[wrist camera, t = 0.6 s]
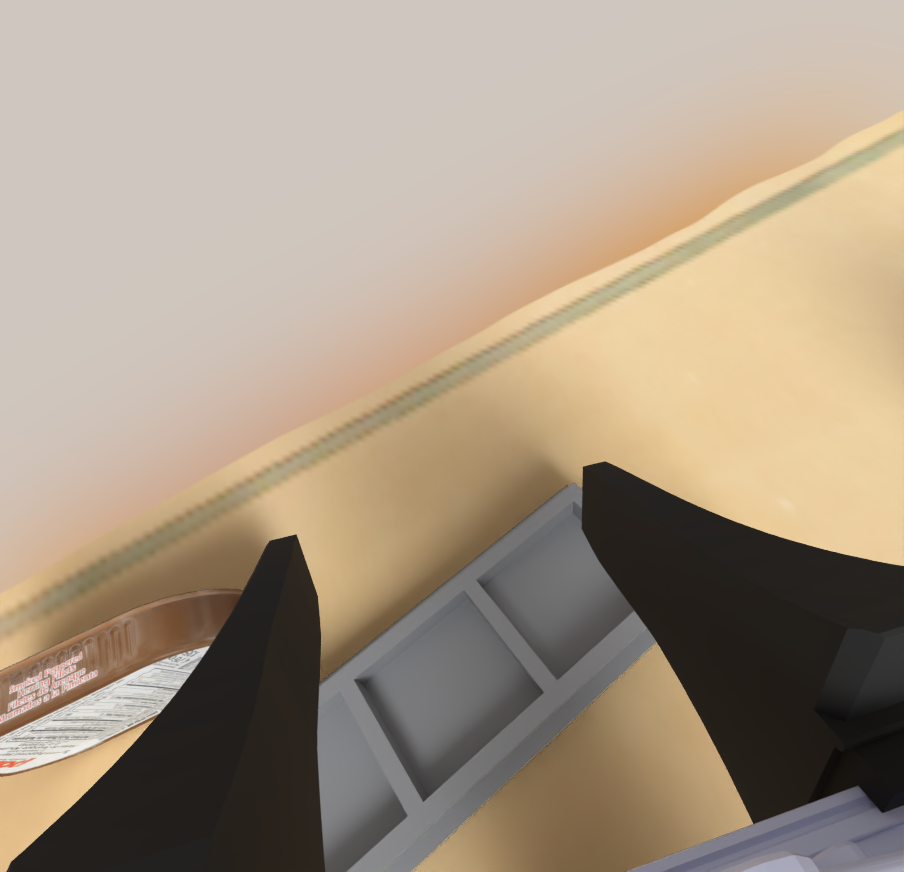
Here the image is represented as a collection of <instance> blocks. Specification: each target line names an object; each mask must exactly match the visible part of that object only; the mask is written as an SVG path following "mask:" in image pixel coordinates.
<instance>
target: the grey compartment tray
mask: <svg viewBox="0 0 904 872" xmlns="http://www.w3.org/2000/svg"><path fill="white" fill-rule="evenodd" d="M581 528H582V489H581V488H580V487H578V486H577V485H576V484H575V483H572V484H571V485H570V486H568V485H566V486H565V487H564V488H563V489H561V490H560V491H559V492H558V493H556V494H555V495H554V496H553V497H551V498H550V499H549V500H548V501H546V502H545V503H544V504H543V505H541V506H540V507H539V508H538V509H536V510H535V511H534V512H533V513H531V514H530V515H529V516H528V517H526V518H525V519H524V520H523V521H521V522H520V523H519V524H518V525H516V526H515V527H514V528H513V529H511V530H510V531H509V532H508V533H506V534H505V535H504V536H503V537H501V538H500V539H499V540H498V541H496V542H495V543H494V544H493V545H491V546H490V547H489V548H488V549H486V550H485V551H484V552H483V553H481V554H480V555H479V556H478V557H476V558H475V559H474V560H473V561H471V562H470V563H469V564H468V565H466V566H465V567H464V568H463V569H461V570H460V571H459V572H458V573H456V574H455V575H454V576H453V577H451V578H450V579H449V580H448V581H446V582H445V583H444V584H443V585H441V586H440V587H439V588H438V589H436V590H435V591H434V592H433V593H431V594H430V595H429V596H428V597H426V598H425V599H424V600H423V601H421V602H420V603H419V604H418V605H416V606H415V607H414V608H413V609H412V610H410V611H409V612H408V613H407V614H405V615H404V616H403V617H402V618H400V619H399V620H398V621H397V622H395V623H394V624H393V625H392V626H390V627H389V628H388V629H387V630H385V631H384V632H383V633H382V634H380V635H379V636H378V637H377V638H375V639H374V640H373V641H372V642H370V643H369V644H368V645H367V646H365V647H364V648H363V649H362V650H360V651H359V652H358V653H357V654H355V655H354V656H353V657H352V658H350V659H349V660H348V661H347V662H345V663H344V664H343V665H342V666H340V667H339V668H338V669H337V670H335V671H334V672H333V673H332V674H330V675H329V676H328V677H327V678H325V679H324V680H323V681H322V682H320V683H319V703H318V728H317V752H318V770H319V788H320V805H321V819H322V834H323V848H324V861H325V872H413V871H414V870H415V869H416V868H417V867H418V866H419V865H420V864H421V863H422V862H423V861H424V860H425V859H426V858H427V857H429V856H430V855H431V854H432V853H433V852H434V851H435V850H436V849H437V848H438V847H439V846H440V845H441V844H442V843H443V842H444V841H446V840H447V839H448V838H449V837H450V836H451V835H452V834H453V833H454V832H455V831H456V830H457V829H458V828H459V827H460V826H462V825H463V824H464V823H465V822H466V821H467V820H468V819H469V818H470V817H471V816H472V815H473V814H474V813H475V812H476V811H478V810H479V809H480V808H481V807H482V806H483V805H484V804H485V803H486V802H487V801H488V800H489V799H490V798H491V797H492V796H493V795H495V794H496V793H497V792H498V791H499V790H500V789H501V788H502V787H503V786H504V785H505V784H506V783H507V782H508V781H509V780H511V779H512V778H513V777H514V776H515V775H516V774H517V773H518V772H519V771H520V770H521V769H522V768H523V767H524V766H525V765H527V764H528V763H529V762H530V761H531V760H532V759H533V758H534V757H535V756H536V755H537V754H538V753H539V752H540V751H541V750H542V749H544V748H545V747H546V746H547V745H548V744H549V743H550V742H551V741H552V740H553V739H554V738H555V737H556V736H557V735H558V734H560V733H561V732H562V731H563V730H564V729H565V728H566V727H567V726H568V725H569V724H570V723H571V722H572V721H573V720H574V719H576V718H577V717H578V716H579V715H580V714H581V713H582V712H583V711H584V710H585V709H586V708H587V707H588V706H589V705H590V704H592V703H593V702H594V701H595V700H596V699H597V698H598V697H599V696H600V695H601V694H602V693H603V692H604V691H605V690H606V689H607V688H609V687H610V686H611V685H612V684H613V683H614V682H615V681H616V680H617V679H618V678H619V677H620V676H621V675H622V674H623V673H625V672H626V671H627V670H628V669H629V668H630V667H631V666H632V665H633V664H634V663H635V662H636V661H637V660H638V659H639V658H641V657H642V656H643V655H644V654H645V653H646V652H647V651H648V650H649V649H650V648H651V647H652V646H653V645H654V644H655V643H656V640H655V639H654V637H653V636H652V634H651V633H650V631H649V630H648V629H647V627H646V626H645V625H644V623H643V622H642V621H641V619H640V618H639V616H638V615H637V614H636V612H635V611H634V610H633V608H632V607H631V605H630V604H629V603H628V601H627V600H626V599H625V597H624V596H623V594H622V593H621V592H620V590H619V589H618V588H617V586H616V585H615V583H614V582H613V581H612V579H611V578H610V576H609V575H608V574H607V572H606V571H605V569H604V568H603V567H602V565H601V564H600V562H599V561H598V559H597V557H596V555H595V553H594V552H593V550H592V548H591V546H590V544H589V542H588V540H587V538H586V536H585V535H584V533H583V531H582V529H581Z"/></svg>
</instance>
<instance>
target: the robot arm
mask: <svg viewBox="0 0 904 872" xmlns="http://www.w3.org/2000/svg"><path fill="white" fill-rule="evenodd" d="M581 529H582V531H583V533H584V535H585V536H586V538H587V540H588V542H589V544H590V546H591V548H592V550H593V552H594V553H595V555H596V557H597V559H598V561H599V562H600V564H601V565H602V567H603V568H604V569H605V571H606V572H607V574H608V575H609V576H610V578H611V579H612V581H613V582H614V583H615V585H616V586H617V588H618V589H619V590H620V592H621V593H622V594H623V596H624V597H625V599H626V600H627V601H628V603H629V604H630V605H631V607H632V608H633V610H634V611H635V612H636V614H637V615H638V616H639V618H640V619H641V621H642V622H643V623H644V625H645V626H646V627H647V629H648V630H649V631H650V633H651V634H652V636H653V637H654V639H655V640H656V642H657V643H658V645H659V646H660V648H661V650H662V651H663V653H664V655H665V656H666V658H667V660H668V662H669V663H670V665H671V667H672V668H673V670H674V672H675V674H676V675H677V677H678V679H679V680H680V682H681V684H682V686H683V687H684V689H685V691H686V693H687V695H688V697H689V698H690V700H691V702H692V704H693V706H694V707H695V709H696V711H697V713H698V715H699V716H700V718H701V720H702V722H703V724H704V726H705V728H706V730H707V731H708V733H709V735H710V737H711V739H712V741H713V743H714V745H715V747H716V749H717V751H718V753H719V755H720V757H721V758H722V760H723V762H724V764H725V766H726V768H727V770H728V772H729V774H730V776H731V778H732V780H733V782H734V785H735V787H736V789H737V791H738V793H739V795H740V797H741V799H742V801H743V803H744V805H745V807H746V809H747V811H748V813H749V815H750V818H751V820H752V822H753V825H750V826H747V827H745V828H742V829H739V830H736V831H734V832H731V833H728V834H726V835H723V836H720V837H718V838H715V839H712V840H709V841H707V842H704V843H701V844H699V845H696V846H693V847H690V848H688V849H685V850H682V851H680V852H677V853H674V854H671V855H669V856H666V857H663V858H661V859H658V860H655V861H653V862H650V863H647V864H644V865H642V866H639V867H636V868H634V869H631V870H628V871H625V872H904V566H899V565H893V564H887V563H882V562H877V561H872V560H868V559H863V558H858V557H853V556H849V555H844V554H840V553H836V552H832V551H828V550H824V549H820V548H816V547H812V546H809V545H805V544H802V543H798V542H795V541H791V540H787V539H784V538H781V537H778V536H775V535H771V534H768V533H765V532H763V531H760V530H757V529H754V528H751V527H748V526H745V525H743V524H740V523H737V522H734V521H732V520H729V519H727V518H724V517H722V516H719V515H717V514H715V513H712V512H710V511H708V510H705V509H703V508H701V507H698V506H696V505H694V504H692V503H689V502H687V501H685V500H683V499H681V498H679V497H677V496H674V495H672V494H670V493H668V492H666V491H664V490H662V489H660V488H658V487H656V486H654V485H652V484H650V483H648V482H646V481H644V480H642V479H640V478H638V477H636V476H634V475H632V474H630V473H628V472H626V471H624V470H622V469H620V468H618V467H616V466H614V465H612V464H610V463H607V462H601V463H597V464H592V465H588V466H584V467H583V487H582V528H581ZM320 653H321V629H320V616H319V605H318V596H317V593H316V590H315V587H314V584H313V581H312V578H311V575H310V572H309V569H308V567H307V564H306V561H305V558H304V555H303V552H302V549H301V546H300V543H299V540H298V537H297V535H292V536H288V537H284V538H280V539H275V540H271V541H269V543H268V544H267V546H266V548H265V550H264V552H263V554H262V556H261V558H260V560H259V562H258V564H257V566H256V568H255V570H254V572H253V574H252V575H251V577H250V579H249V581H248V583H247V585H246V587H245V589H244V590H243V592H242V594H241V596H240V597H239V599H238V601H237V603H236V605H235V606H234V608H233V610H232V612H231V613H230V615H229V617H228V618H227V620H226V622H225V623H224V625H223V626H222V628H221V630H220V631H219V633H218V634H217V636H216V637H215V639H214V641H213V642H212V644H211V645H210V647H209V648H208V650H207V651H206V653H205V654H204V656H203V657H202V659H201V660H200V662H199V663H198V664H197V666H196V667H195V669H194V670H193V671H192V673H191V674H190V676H189V677H188V678H187V680H186V681H185V682H184V683H183V685H182V686H181V687H180V689H179V690H178V691H177V693H176V694H175V695H174V697H173V698H172V699H171V700H170V701H169V703H168V704H167V705H166V706H165V708H164V709H163V710H162V711H161V712H160V713H159V715H158V716H157V717H156V718H155V719H154V720H153V722H152V723H151V724H150V725H149V726H148V727H147V729H146V730H145V731H144V732H143V733H142V734H141V736H140V737H139V738H138V739H137V740H136V741H135V742H134V744H133V745H132V746H131V747H130V748H129V749H128V750H127V751H126V752H125V753H124V754H123V755H122V756H121V757H120V758H119V760H118V761H117V762H116V763H115V764H114V765H113V766H112V767H111V768H110V769H109V770H108V771H107V772H106V773H105V774H104V775H103V776H102V777H101V778H100V779H99V780H98V781H97V782H96V783H95V784H94V785H93V786H92V787H91V788H90V789H89V790H88V791H87V792H86V793H85V794H84V795H83V796H82V797H81V798H80V799H79V800H78V801H77V802H76V803H75V804H74V805H73V806H72V807H71V808H70V809H69V810H67V811H66V812H65V813H64V814H63V815H62V816H61V817H60V818H59V819H58V820H57V821H56V822H54V823H53V824H52V825H51V826H50V827H49V828H48V829H47V830H46V831H45V832H44V833H43V834H41V835H40V836H39V837H38V838H37V839H36V840H35V841H34V842H33V843H32V844H31V845H30V846H29V847H27V848H26V849H25V850H24V851H23V852H22V853H21V854H20V855H18V856H17V857H16V858H15V859H14V860H13V861H12V862H11V863H10V866H9V868H8V870H7V872H325V861H324V848H323V834H322V819H321V805H320V788H319V770H318V752H317V728H318V703H319V679H320Z"/></svg>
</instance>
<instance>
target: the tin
mask: <svg viewBox="0 0 904 872" xmlns="http://www.w3.org/2000/svg"><path fill="white" fill-rule="evenodd" d="M242 592H243V590H238V589H211V590H201V591H194V592H189V593H184V594H179V595H175V596H171V597H167V598H164V599H160V600H157V601H153V602H151V603H148V604H144V605H142V606H139V607H137V608H134V609H132V610H129V611H127V612H125V613H123V614H121V615H118V616H116V617H114V618H112V619H110V620H108V621H106V622H103V623H101V624H99V625H97V626H95V627H93V628H91V629H89V630H86V631H84V632H82V633H80V634H78V635H76V636H73V637H71V638H69V639H67V640H65V641H63V642H61V643H58V644H56V645H54V646H52V647H50V648H48V649H46V650H44V651H42V652H39V653H37V654H35V655H33V656H31V657H28V658H26V659H24V660H22V661H20V662H18V663H16V664H13V665H11V666H9V667H7V668H5V669H3V670H1V671H0V777H3V776H10V775H15V774H19V773H23V772H27V771H30V770H34V769H37V768H41V767H44V766H47V765H50V764H53V763H56V762H59V761H62V760H65V759H67V758H70V757H73V756H75V755H78V754H80V753H83V752H85V751H88V750H90V749H92V748H94V747H97V746H99V745H101V744H103V743H105V742H107V741H109V740H111V739H113V738H115V737H117V736H119V735H122V734H124V733H126V732H128V731H130V730H132V729H134V728H136V727H138V726H140V725H142V724H144V723H146V722H149V721H151V720H153V719H155V718H156V717H157V716H158V715H159V713H160V712H161V711H162V710H163V709H164V708H165V706H166V705H167V704H168V703H169V701H170V700H171V699H172V698H173V697H174V695H175V694H176V693H177V691H178V690H179V689H180V687H181V686H182V685H183V683H184V682H185V681H186V680H187V678H188V677H189V676H190V674H191V673H192V671H193V670H194V669H195V667H196V666H197V664H198V663H199V662H200V660H201V659H202V657H203V656H204V654H205V653H206V651H207V650H208V648H209V647H210V645H211V644H212V642H213V641H214V639H215V637H216V636H217V634H218V633H219V631H220V630H221V628H222V626H223V625H224V623H225V622H226V620H227V618H228V617H229V615H230V613H231V612H232V610H233V608H234V606H235V605H236V603H237V601H238V599H239V597H240V596H241V594H242Z"/></svg>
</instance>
